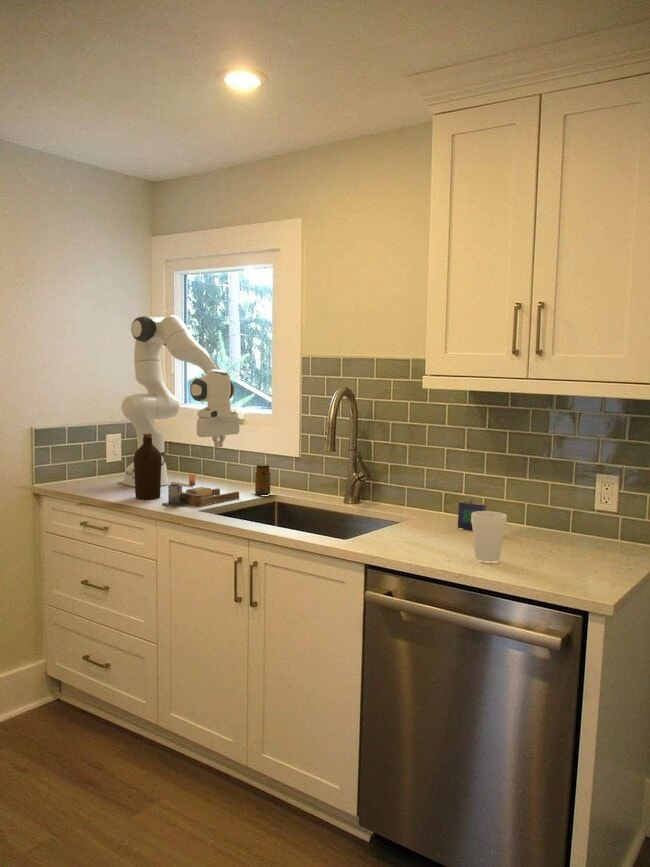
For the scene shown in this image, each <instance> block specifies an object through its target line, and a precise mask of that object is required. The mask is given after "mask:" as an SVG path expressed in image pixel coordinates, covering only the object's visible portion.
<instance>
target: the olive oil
mask: <svg viewBox="0 0 650 867" xmlns="http://www.w3.org/2000/svg"><path fill="white" fill-rule="evenodd" d="M143 436H144V437H143V444H142V446H141V447H140V448H139V449H138V448H137V450H136V451H135V452H134V453H135V454H134V455H133V462H134V475H135V487H134V490H135V491H134V492H135V493H134V494H135V499H137V500H141V501H151V499H153V500H158V499H160V498H161V489H162V488H161V487H162V486H161V464H162V457H161V454H160V452H159V451H158V450H157V448H156V447H155V446H154V445H153V444H152V434H143ZM157 498H158V499H157Z"/></svg>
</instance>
